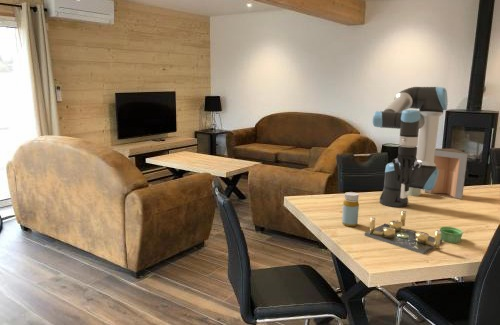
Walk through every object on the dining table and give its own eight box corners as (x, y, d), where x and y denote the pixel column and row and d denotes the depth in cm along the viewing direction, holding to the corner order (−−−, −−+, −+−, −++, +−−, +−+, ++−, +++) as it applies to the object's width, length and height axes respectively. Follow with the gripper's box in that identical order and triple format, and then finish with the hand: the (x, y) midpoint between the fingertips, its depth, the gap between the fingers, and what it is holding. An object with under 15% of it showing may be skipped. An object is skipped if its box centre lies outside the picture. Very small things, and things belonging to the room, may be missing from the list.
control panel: (364, 235, 172) (364, 231, 172) (384, 225, 184) (385, 221, 184) (423, 254, 153) (424, 249, 153) (442, 242, 166) (442, 237, 165)
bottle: (348, 228, 181) (351, 196, 178) (338, 223, 187) (340, 192, 184) (360, 225, 184) (362, 194, 181) (350, 221, 190) (352, 191, 187)
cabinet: (424, 192, 244) (429, 148, 238) (430, 190, 251) (434, 146, 245) (461, 199, 230) (467, 152, 224) (465, 196, 237) (471, 150, 231)
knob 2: (397, 231, 173) (399, 217, 171) (387, 228, 176) (388, 214, 175) (408, 226, 180) (410, 212, 179) (398, 223, 183) (399, 209, 182)
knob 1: (395, 234, 169) (396, 220, 168) (393, 238, 165) (395, 223, 163) (370, 230, 174) (371, 216, 172) (368, 234, 169) (369, 219, 168)
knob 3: (412, 239, 164) (413, 224, 162) (420, 237, 166) (421, 223, 165) (434, 249, 155) (436, 233, 153) (442, 246, 157) (444, 231, 156)
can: (401, 193, 241) (403, 174, 239) (408, 191, 247) (410, 172, 245) (416, 196, 234) (418, 177, 232) (423, 194, 241) (425, 175, 238)
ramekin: (451, 245, 163) (453, 235, 162) (433, 237, 171) (434, 228, 170) (466, 242, 167) (467, 232, 166) (448, 234, 175) (449, 225, 174)
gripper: (389, 144, 174) (385, 195, 179) (417, 148, 164) (412, 202, 169) (399, 142, 178) (394, 192, 183) (426, 146, 168) (421, 199, 173)
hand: (403, 197), depth 176 cm, fingers closed
